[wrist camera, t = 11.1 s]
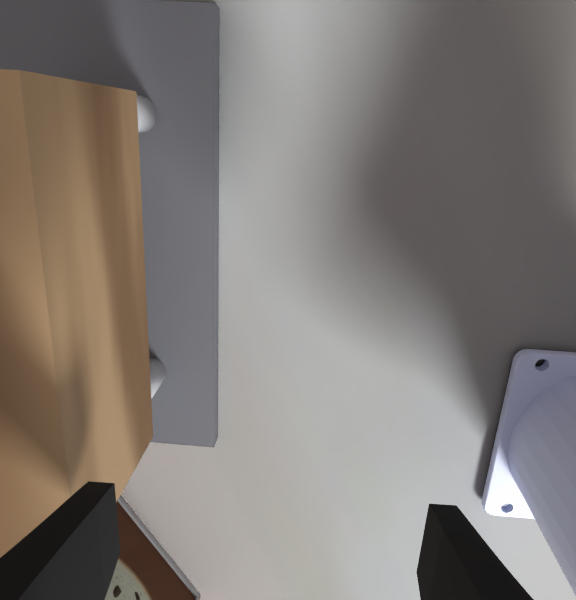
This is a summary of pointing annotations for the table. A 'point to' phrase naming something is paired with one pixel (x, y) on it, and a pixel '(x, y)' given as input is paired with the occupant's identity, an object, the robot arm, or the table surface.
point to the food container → (145, 565)
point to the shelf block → (69, 295)
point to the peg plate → (153, 170)
